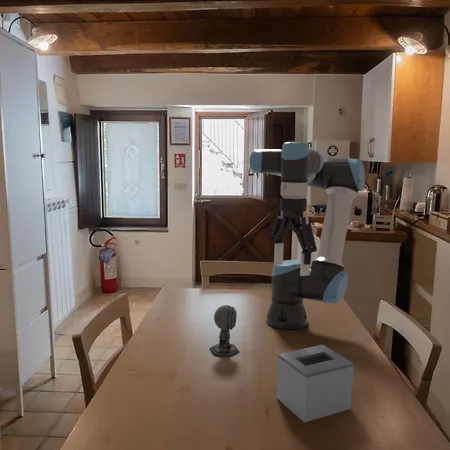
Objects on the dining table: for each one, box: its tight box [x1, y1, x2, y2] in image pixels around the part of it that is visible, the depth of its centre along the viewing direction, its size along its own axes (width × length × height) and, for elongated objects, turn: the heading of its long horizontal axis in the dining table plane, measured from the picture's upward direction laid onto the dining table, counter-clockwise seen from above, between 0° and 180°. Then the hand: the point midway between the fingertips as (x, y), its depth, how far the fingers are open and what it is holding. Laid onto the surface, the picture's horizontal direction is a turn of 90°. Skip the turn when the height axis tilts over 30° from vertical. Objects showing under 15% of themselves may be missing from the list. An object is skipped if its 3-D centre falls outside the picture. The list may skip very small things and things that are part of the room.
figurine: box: [209, 304, 240, 358], centre depth 144 cm, size 9×10×15 cm
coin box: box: [276, 344, 354, 423], centre depth 115 cm, size 14×12×12 cm
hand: (291, 269), depth 134 cm, fingers open, 13 cm apart
